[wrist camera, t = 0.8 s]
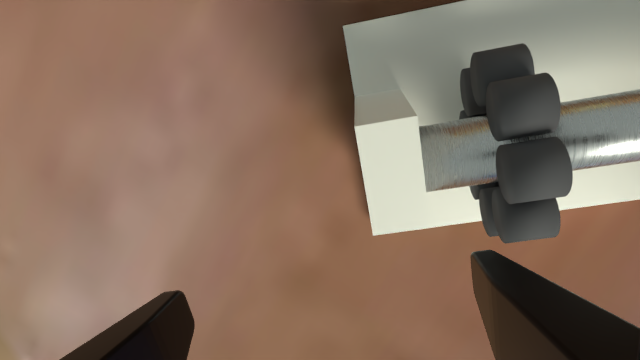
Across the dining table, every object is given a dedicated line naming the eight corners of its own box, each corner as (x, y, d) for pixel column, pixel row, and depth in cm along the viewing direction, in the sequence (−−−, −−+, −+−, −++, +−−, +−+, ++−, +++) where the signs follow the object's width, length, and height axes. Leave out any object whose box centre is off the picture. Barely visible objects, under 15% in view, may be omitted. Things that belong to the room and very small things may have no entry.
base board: (870, -85, 16) (1197, -150, 10) (814, 165, 19) (1029, 233, 13) (343, 25, 18) (337, 29, 12) (376, 225, 22) (384, 304, 16)
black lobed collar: (491, 38, 17) (574, 51, 10) (499, 193, 19) (570, 280, 13) (452, 46, 17) (511, 62, 11) (465, 198, 19) (519, 286, 13)
